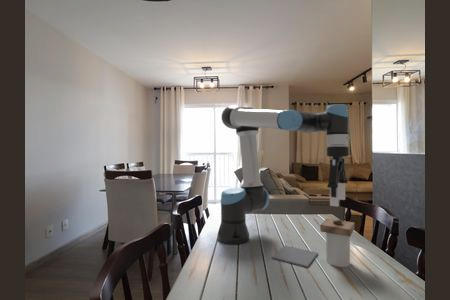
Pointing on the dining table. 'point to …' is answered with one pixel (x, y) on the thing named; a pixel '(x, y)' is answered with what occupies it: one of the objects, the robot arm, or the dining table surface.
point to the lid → (337, 227)
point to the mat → (295, 256)
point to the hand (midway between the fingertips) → (338, 202)
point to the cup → (337, 250)
